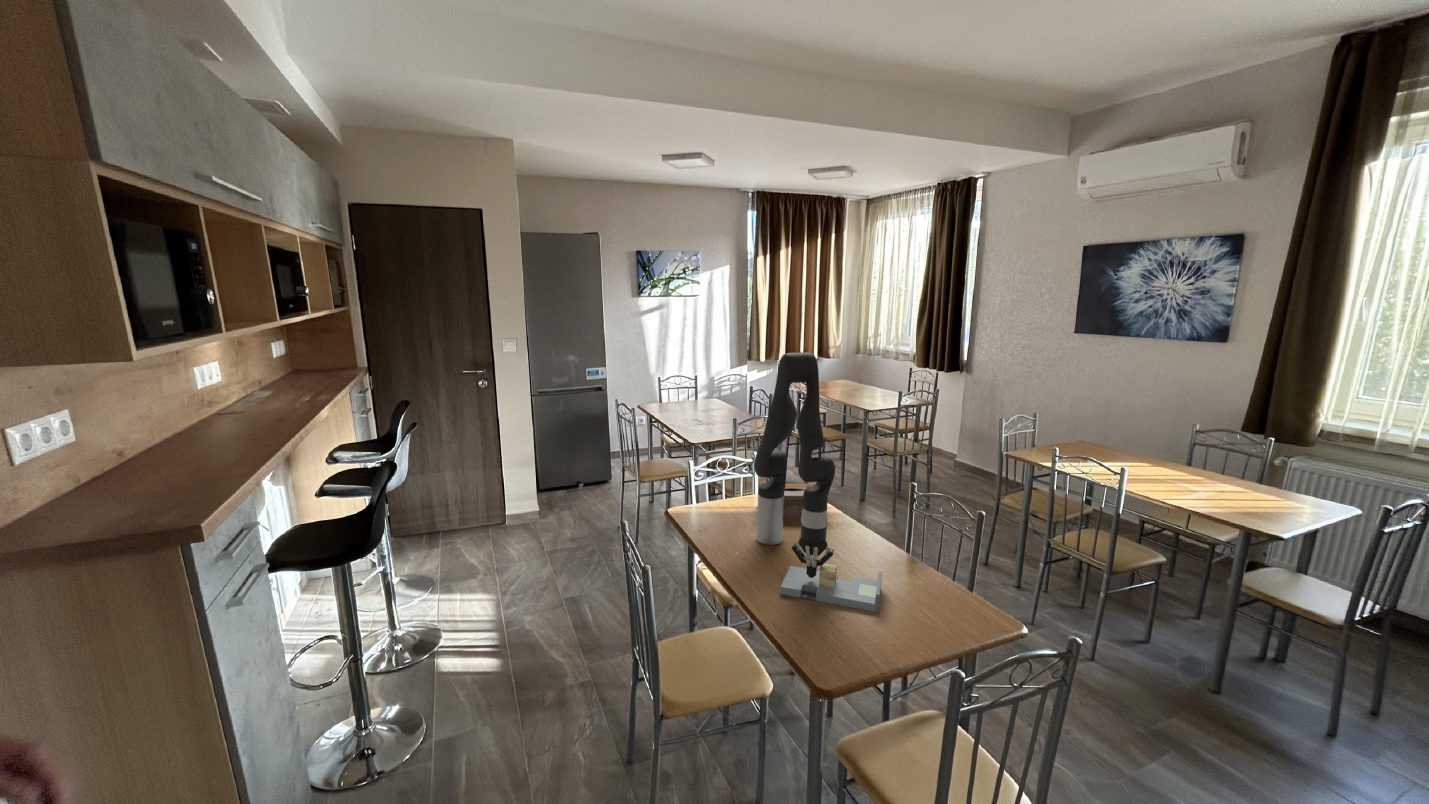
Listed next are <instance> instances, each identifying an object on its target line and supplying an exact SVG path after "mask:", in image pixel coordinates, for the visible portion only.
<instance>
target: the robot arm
mask: <svg viewBox="0 0 1429 804" xmlns="http://www.w3.org/2000/svg"><path fill="white" fill-rule="evenodd" d="M800 383H801V384H802V383H805V388H806V395H805V397H804V401H803V404H802V407H801V408H800V411H799V414H798V410H797V407H796V405H795V403H794V400H793V399H792V397H791V395H790V387H791V385H792V384H800ZM773 391H774V392H773V396H772V401H771V405H770V406H769V407H770V408H769V410H768V415H767V418H766V423H765V427H764V430H763V431H764V432H763V434H762V438H761V441H760V444H759V447H758V448H757V451H756V454H755V456H754V464H753V465H754V469H753V470H754V472H755V474H756V475H757V476H758V478H770V479H769V480H768V481H765V482H763V483H760V484H761V485H760V486H759V485H758V491H757V497H758V498H757V519H756V520H757V526H756V527H757V528H756V540H757V542H758V543H760V544H762V545H767V546H776V545H780V544H782V542H783V534H784V531H783V530H784V519H783V513H784V491H785V485H786V484H787V474H788V460H787V459H788V458H787V455H786V452H784V450H781V449H780V450H779V449H777V450H776V448H777V447H779V446H780V445H781V444H782V443H784V441H786V439H787V438H788V437H790V436H791V434H792V432H793V431H794V429H795V425H797V433H798V438H799V444H800V445H799V446H800V448H799V458H798V467H797V468H798V469H797V472H798V475H799V477H800V479H801V480H802V481H803V482H804V483H814V484H815V485H814V486H812V487H809V488H807V489H805V491H804V494H803V510H802V517H801V519H800V536H799V540H798V542H794V543H793V544H792V546H791V550H792V551H793V553H794V555H795V556H796V557H797V558H798V560H799V562H800V563H801V564H804V565H806V569H807V573H806V574H807V575H808V577H810V578H814V576H816V573H817V570H818V567H821V566H822V565H823V564H826V563H827V561H828V560H829V559H831V558H832V557H833V556H834V552H835V550H834V549H833V548H830V547H829V546H828V542H827V528H828V527H827V525H828V502H827V497H829V493H830V490H831V487H832V484H833V481H834V478H835V476H836V465H835V463H834V461H833V459H832V458H831V457H829V456H818V457H817V456H815V457H814V456H813V455H812V454H813V452H814V451H817V450H820V449H822V448H824V446H825V438H824V432H823V426H822V419H821V412H820V377H819V364H818V360H817V357H816V355H815V354H813V353H812V352H787V353H784V354H782V356H781V358H780V360H779V362H778V369H777V375H776V381H775V386H774V390H773ZM796 422H797V424H796ZM812 456H813V457H812ZM822 553H824V555H823V556H822V557H820V559H819V556H820V555H822Z"/></svg>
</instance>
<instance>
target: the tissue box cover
mask: <svg viewBox="0 0 1429 804" xmlns="http://www.w3.org/2000/svg"><path fill="white" fill-rule="evenodd" d="M761 484H762V483H758V487H759V486H760V485H761ZM815 484H816V483H786V485H785V491H784V513H783V520H801V517H802V510H803V494H804V491H805V489H807V488H809V487H812V486H814V485H815ZM828 497H829V496H828ZM828 497H827V503H828V500H829V498H828Z"/></svg>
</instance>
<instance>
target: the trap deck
mask: <svg viewBox="0 0 1429 804" xmlns="http://www.w3.org/2000/svg"><path fill="white" fill-rule="evenodd" d="M819 571H820V570H819V569H817V573H816V576H814V578H810V577H808V575H807V574H806V573H807V567H799V566H795V565H790V566H789V568H788V569H787V572H786V575H785V576H784V578H783V580H782V583H781V585H780V590H779V591H780V595H784V596H787V597H794V598H799V599H805V600H810V601H814V602H821V603H826V604H832V605H837V606H841V607H846V608H847V607H848V608H852V609H857V610H864V611H868V612H874V613H879V611H880V610H879V609H880V600H881V591H882V582H883V581H882V580H883V571H878V575H877V580H876V579H869V578H864V577H859V576H858V577H857V576H852V579H851V581H848V580H842V579H839V573H837V574H836V583H835V586H834V588H831V587H825V586H820V585H819Z"/></svg>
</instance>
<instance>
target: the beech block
mask: <svg viewBox="0 0 1429 804" xmlns="http://www.w3.org/2000/svg"><path fill="white" fill-rule="evenodd" d="M819 567H820V568H819V570H818V571H819V585H820V586H825V587H831V588H834V586H835V583H836V574H838V573H837V572H838V569H837V568H838V566H837V565H835V564H829V563H824V564H823V565H822V566H819Z"/></svg>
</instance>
